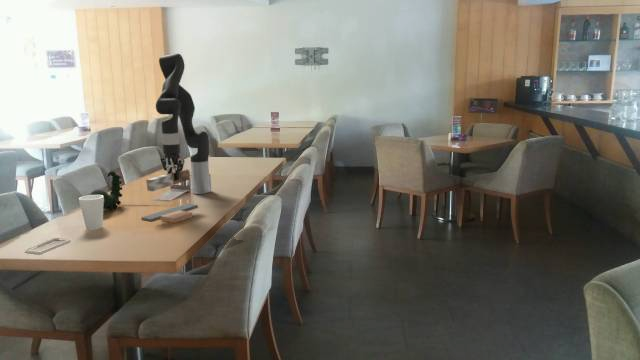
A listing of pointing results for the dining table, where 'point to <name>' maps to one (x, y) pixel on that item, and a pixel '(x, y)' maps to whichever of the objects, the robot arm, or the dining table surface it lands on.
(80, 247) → the dining table surface
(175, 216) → the tile
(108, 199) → the toy figurine
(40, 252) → the grey rectangular frame
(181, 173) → the pale rectangular box
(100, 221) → the foam cup
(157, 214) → the rest mat
